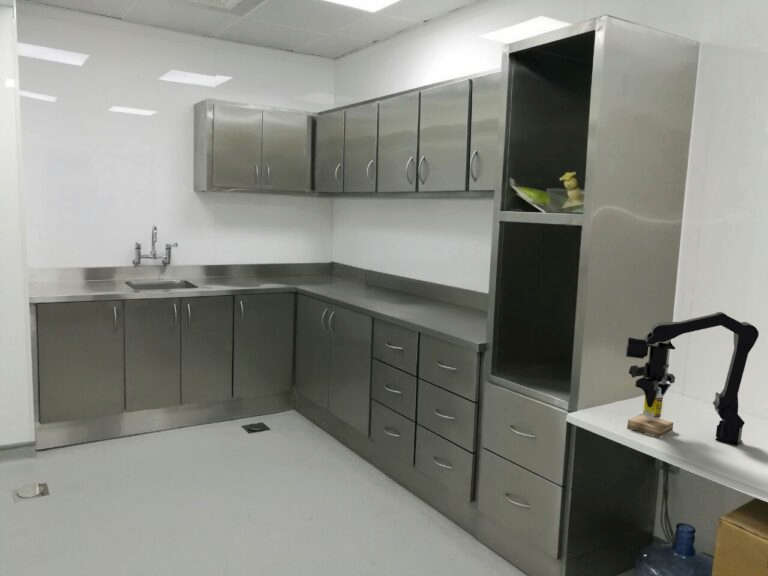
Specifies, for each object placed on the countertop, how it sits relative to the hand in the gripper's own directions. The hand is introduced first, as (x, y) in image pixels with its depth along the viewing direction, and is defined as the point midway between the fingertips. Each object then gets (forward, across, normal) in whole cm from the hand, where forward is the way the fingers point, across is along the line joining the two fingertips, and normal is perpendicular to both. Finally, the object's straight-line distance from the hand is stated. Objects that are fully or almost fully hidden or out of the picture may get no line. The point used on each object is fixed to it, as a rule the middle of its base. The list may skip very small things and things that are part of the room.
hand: (652, 405), depth 214 cm
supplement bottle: (+4, 0, 0) cm, 4 cm away
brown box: (+8, 0, 0) cm, 9 cm away
